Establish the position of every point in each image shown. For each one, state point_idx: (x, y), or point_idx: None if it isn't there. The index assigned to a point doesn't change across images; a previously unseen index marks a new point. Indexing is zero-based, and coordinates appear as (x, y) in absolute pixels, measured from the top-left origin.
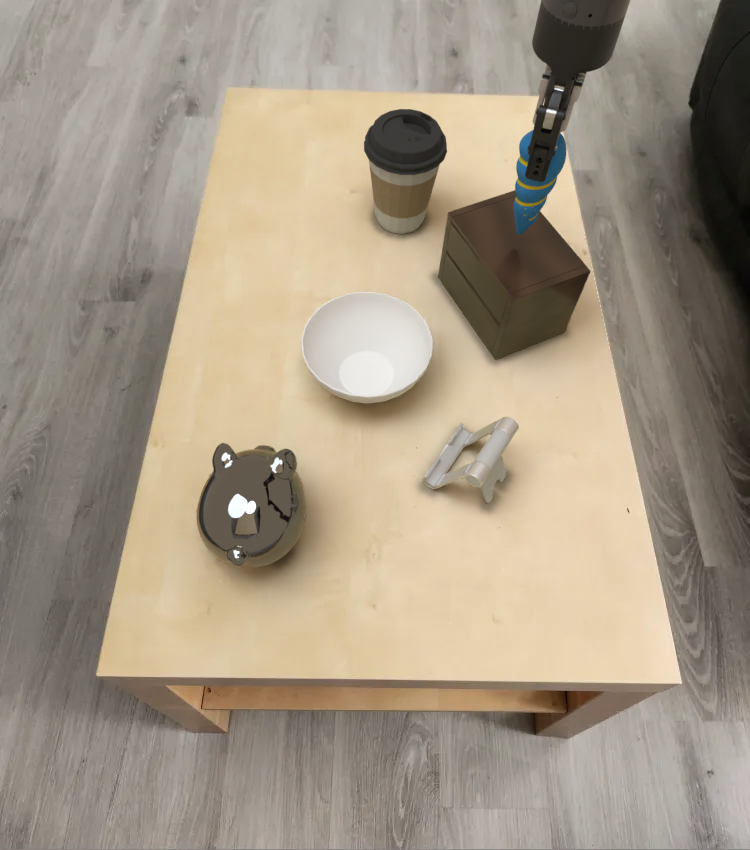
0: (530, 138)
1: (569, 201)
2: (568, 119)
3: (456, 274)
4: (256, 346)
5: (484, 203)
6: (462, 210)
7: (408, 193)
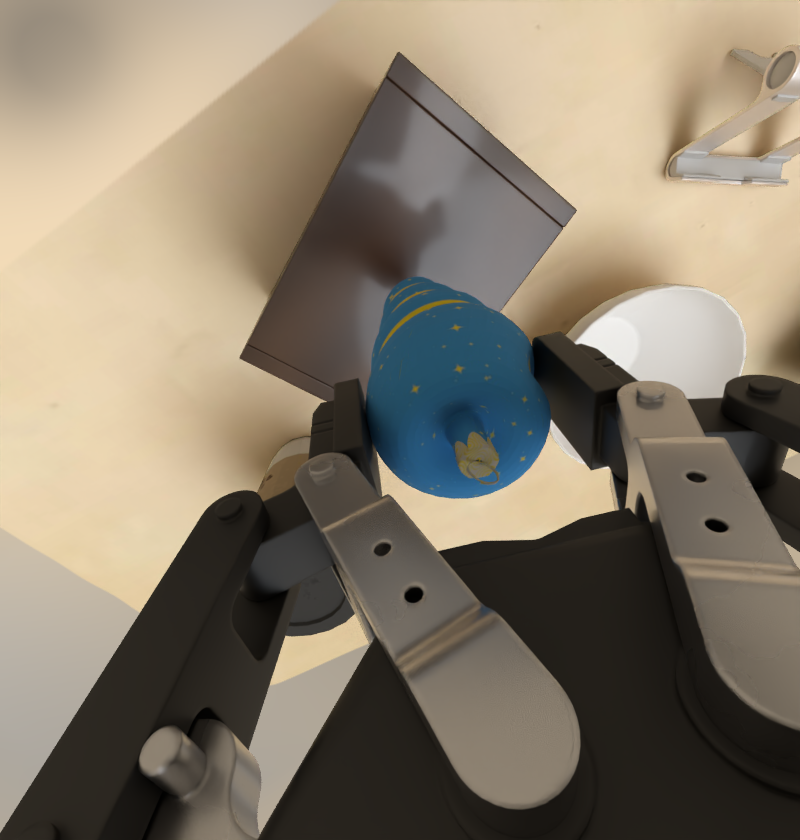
0: (499, 482)
1: (31, 248)
2: (743, 480)
3: None
4: (600, 476)
5: None
6: None
7: None
